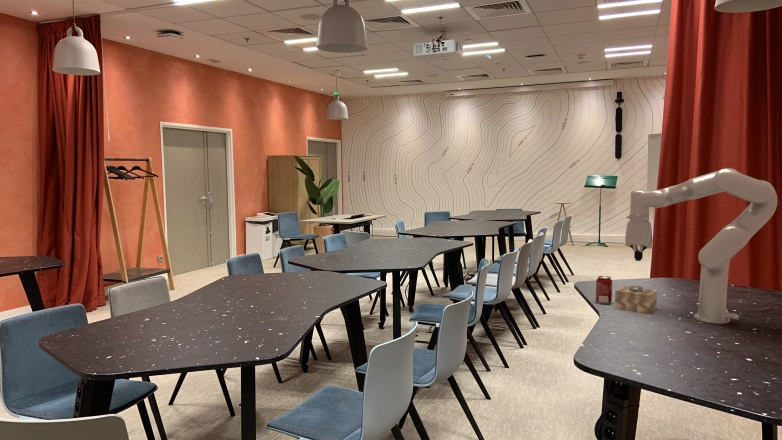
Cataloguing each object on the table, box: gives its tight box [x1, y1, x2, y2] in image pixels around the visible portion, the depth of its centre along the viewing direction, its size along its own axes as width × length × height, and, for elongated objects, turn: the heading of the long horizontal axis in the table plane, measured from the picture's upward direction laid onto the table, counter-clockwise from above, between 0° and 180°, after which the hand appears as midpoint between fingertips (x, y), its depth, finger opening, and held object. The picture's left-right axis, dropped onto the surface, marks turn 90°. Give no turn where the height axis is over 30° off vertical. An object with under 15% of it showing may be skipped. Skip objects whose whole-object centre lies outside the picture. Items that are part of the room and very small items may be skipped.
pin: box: [628, 285, 644, 292], centre depth 237 cm, size 6×6×9 cm
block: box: [614, 285, 658, 315], centre depth 237 cm, size 14×12×8 cm
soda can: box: [595, 275, 613, 305], centre depth 247 cm, size 7×7×12 cm
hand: (638, 260), depth 235 cm, fingers closed
